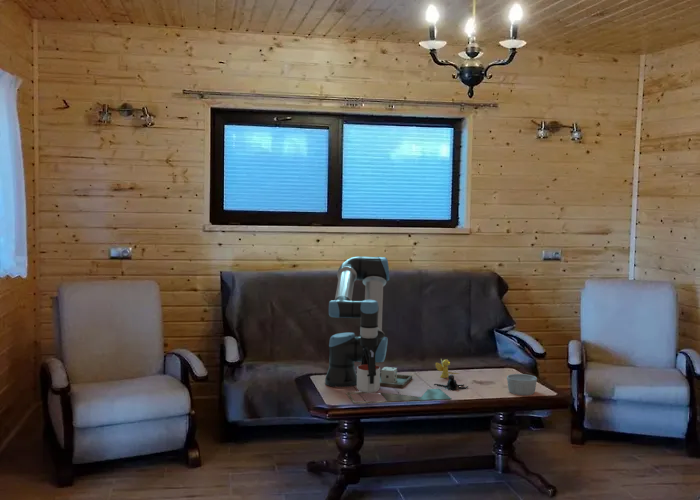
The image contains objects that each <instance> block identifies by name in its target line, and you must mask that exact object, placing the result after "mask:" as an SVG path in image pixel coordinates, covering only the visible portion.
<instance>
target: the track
mask: <svg viewBox="0 0 700 500" xmlns="http://www.w3.org/2000/svg"><path fill="white" fill-rule="evenodd" d="M345 394H346V395H347V397H348V398H349V399H350V401H351V402H352V404H354V405H356V404H358V405H359V404H377V403H381V404H382V403H401V402H422V401H444V400H445V401H446V400H447V401H448V400H452V397H451V396H449V395H448V394H447V393H445V392H444V391H443V389H441V388H428V389H426V391H424V393H423V394H422V395H421V396H418V395H417V396H416V395H408V394H407V395H404V394H395V393H386V392H380V394H381V396H382V398H384V399H385V400H373V401H372V400H371V401H355V400H354V398H353V397H352V395H353V394H354V395H355V394H356V395H357V394H358V395H359V394H368V393H367V392H361V391H354V392H346V393H345ZM370 394H379V392H378V391H376V392H371V393H370Z"/></svg>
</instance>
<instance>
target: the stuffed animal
mask: <svg viewBox="0 0 700 500" xmlns="http://www.w3.org/2000/svg"><path fill="white" fill-rule="evenodd" d="M447 379H448V380H447V383H446V384H441V383H433V386H435V385H437V386H436V387H442V386H443V388H445V389H444V390H446V389H448V390H447V391H451V390H452V391H456V390H459V391H460V390H467V389H468V388H469V385H465V384H464V383H462V384H458V383H457V381H456V379H455V376H454V374H449V376H448V378H447ZM459 386H462V387H459ZM446 387H447V388H446ZM454 388H455V389H454ZM466 388H467V389H466Z"/></svg>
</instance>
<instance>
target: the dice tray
mask: <svg viewBox="0 0 700 500" xmlns="http://www.w3.org/2000/svg"><path fill="white" fill-rule="evenodd" d="M412 380H413V375H411V374H410V375H409V374H398V373H397V381H396V382H395V383H385V382H381V372H380V387H387V388H395V389H396V388H399V389H404V387H406V386H407V385H408V384H409V383H410V382H411V381H412Z"/></svg>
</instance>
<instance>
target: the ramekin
mask: <svg viewBox="0 0 700 500" xmlns="http://www.w3.org/2000/svg"><path fill="white" fill-rule="evenodd" d="M506 380H507V389H508V391H509V393H511V394H513V395H516V394H517V395H516V396H530V395H533V394H534V393H535V392H536V387H537V382H538V378H537V377H536V376H535V375H531V374H526V373H525V374H524V373H512V374H508V375H507V376H506Z"/></svg>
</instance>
